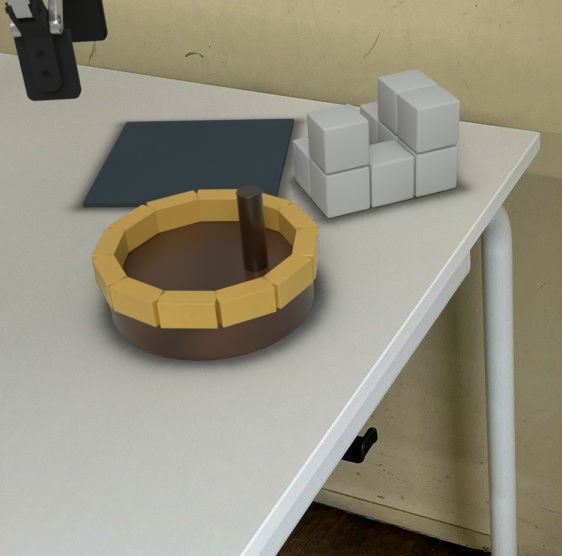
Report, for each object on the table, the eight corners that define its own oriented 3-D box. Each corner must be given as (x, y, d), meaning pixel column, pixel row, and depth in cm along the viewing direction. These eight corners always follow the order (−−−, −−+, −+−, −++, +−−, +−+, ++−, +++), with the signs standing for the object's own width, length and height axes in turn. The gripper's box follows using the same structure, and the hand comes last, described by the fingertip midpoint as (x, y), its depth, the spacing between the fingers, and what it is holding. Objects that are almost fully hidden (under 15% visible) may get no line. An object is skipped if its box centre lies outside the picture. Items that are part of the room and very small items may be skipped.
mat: (83, 206, 89) (82, 202, 88) (127, 125, 102) (126, 121, 102) (274, 205, 86) (274, 201, 86) (294, 122, 100) (293, 118, 99)
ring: (73, 327, 68) (68, 303, 67) (127, 212, 81) (123, 189, 80) (307, 329, 66) (306, 304, 65) (325, 210, 79) (324, 187, 78)
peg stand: (89, 359, 71) (63, 248, 65) (136, 247, 82) (118, 145, 77) (304, 361, 69) (297, 247, 63) (322, 246, 80) (316, 142, 75)
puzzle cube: (397, 135, 96) (398, 53, 91) (457, 188, 87) (461, 100, 82) (279, 161, 93) (272, 78, 88) (327, 219, 84) (323, 130, 79)
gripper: (-19, -260, 61) (41, 24, 71) (-115, -216, 47) (-23, 128, 57) (104, -270, 60) (147, 18, 71) (43, -228, 47) (107, 121, 57)
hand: (71, 67), depth 64 cm, fingers open, 9 cm apart
